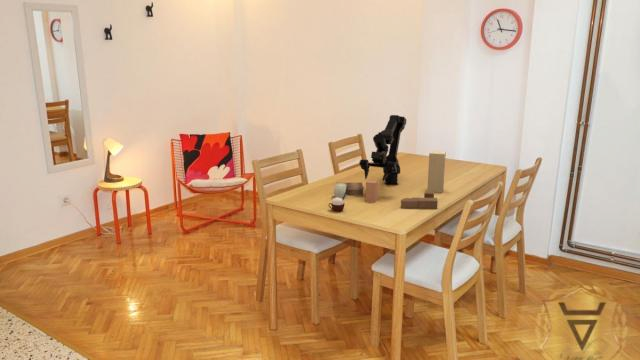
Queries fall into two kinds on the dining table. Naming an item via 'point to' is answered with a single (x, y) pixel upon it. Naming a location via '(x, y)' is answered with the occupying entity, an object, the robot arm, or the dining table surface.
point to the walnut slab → (354, 189)
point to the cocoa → (338, 203)
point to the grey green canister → (339, 190)
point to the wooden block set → (421, 202)
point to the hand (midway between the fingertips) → (374, 179)
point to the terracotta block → (372, 190)
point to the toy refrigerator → (436, 171)
